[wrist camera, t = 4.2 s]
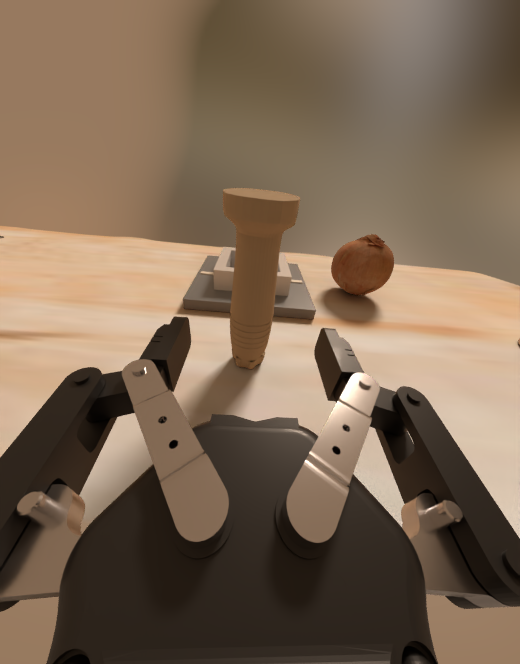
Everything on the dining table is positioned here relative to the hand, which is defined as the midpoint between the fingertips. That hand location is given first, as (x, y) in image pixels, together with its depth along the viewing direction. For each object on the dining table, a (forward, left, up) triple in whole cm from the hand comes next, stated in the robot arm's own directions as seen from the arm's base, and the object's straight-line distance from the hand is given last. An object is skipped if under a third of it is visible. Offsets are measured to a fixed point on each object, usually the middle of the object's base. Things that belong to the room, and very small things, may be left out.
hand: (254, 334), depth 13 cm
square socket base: (0, -24, -8) cm, 26 cm away
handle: (0, -6, -8) cm, 10 cm away
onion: (-18, -25, -8) cm, 32 cm away
